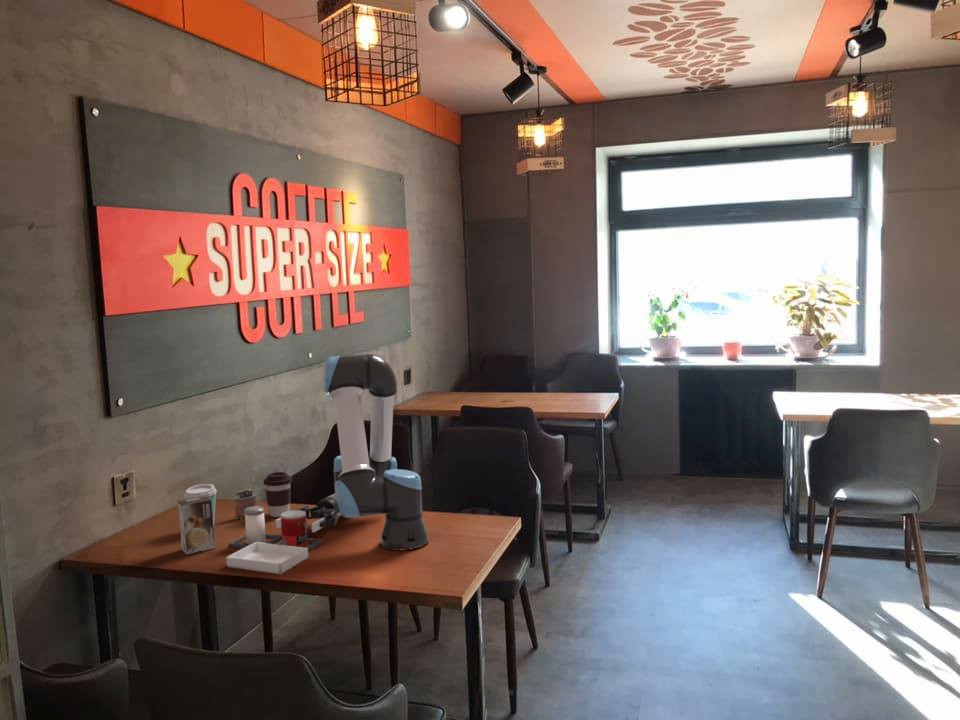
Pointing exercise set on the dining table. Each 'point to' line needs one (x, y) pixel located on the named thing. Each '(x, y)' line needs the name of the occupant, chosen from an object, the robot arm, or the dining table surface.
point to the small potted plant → (244, 502)
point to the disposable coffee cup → (202, 494)
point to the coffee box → (196, 524)
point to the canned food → (294, 528)
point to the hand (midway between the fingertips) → (294, 526)
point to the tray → (267, 557)
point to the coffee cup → (278, 493)
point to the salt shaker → (255, 524)
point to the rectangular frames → (276, 538)
